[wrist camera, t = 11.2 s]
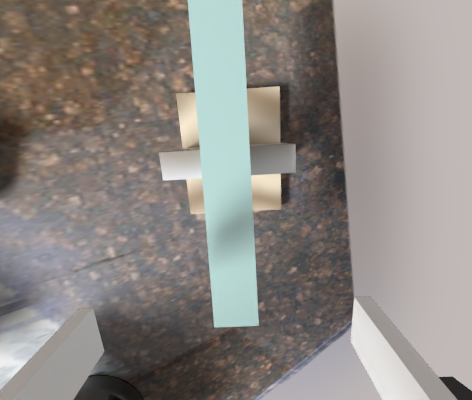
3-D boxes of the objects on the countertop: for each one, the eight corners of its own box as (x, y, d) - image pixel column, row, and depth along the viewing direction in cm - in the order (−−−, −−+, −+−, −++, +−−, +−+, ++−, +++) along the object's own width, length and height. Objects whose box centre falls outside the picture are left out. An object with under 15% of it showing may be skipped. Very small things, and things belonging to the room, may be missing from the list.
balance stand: (279, 206, 33) (300, 241, 22) (192, 210, 34) (167, 248, 22) (277, 88, 29) (302, 55, 18) (179, 95, 30) (140, 67, 18)
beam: (255, 296, 22) (258, 325, 18) (219, 298, 22) (214, 327, 18) (239, -6, 18) (239, -55, 14) (196, -2, 18) (183, -50, 14)
